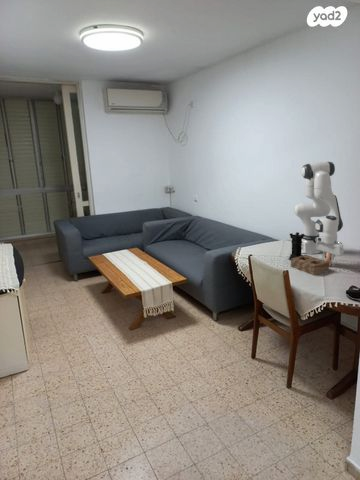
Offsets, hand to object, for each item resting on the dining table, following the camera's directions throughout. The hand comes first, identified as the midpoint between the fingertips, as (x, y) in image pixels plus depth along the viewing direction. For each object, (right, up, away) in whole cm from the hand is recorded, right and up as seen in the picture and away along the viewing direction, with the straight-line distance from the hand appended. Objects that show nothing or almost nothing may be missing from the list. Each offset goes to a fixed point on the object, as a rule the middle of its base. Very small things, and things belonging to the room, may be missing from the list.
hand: (328, 259), depth 227 cm
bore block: (-14, -7, -1) cm, 15 cm away
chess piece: (-16, -2, +17) cm, 24 cm away
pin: (0, -5, +1) cm, 5 cm away
